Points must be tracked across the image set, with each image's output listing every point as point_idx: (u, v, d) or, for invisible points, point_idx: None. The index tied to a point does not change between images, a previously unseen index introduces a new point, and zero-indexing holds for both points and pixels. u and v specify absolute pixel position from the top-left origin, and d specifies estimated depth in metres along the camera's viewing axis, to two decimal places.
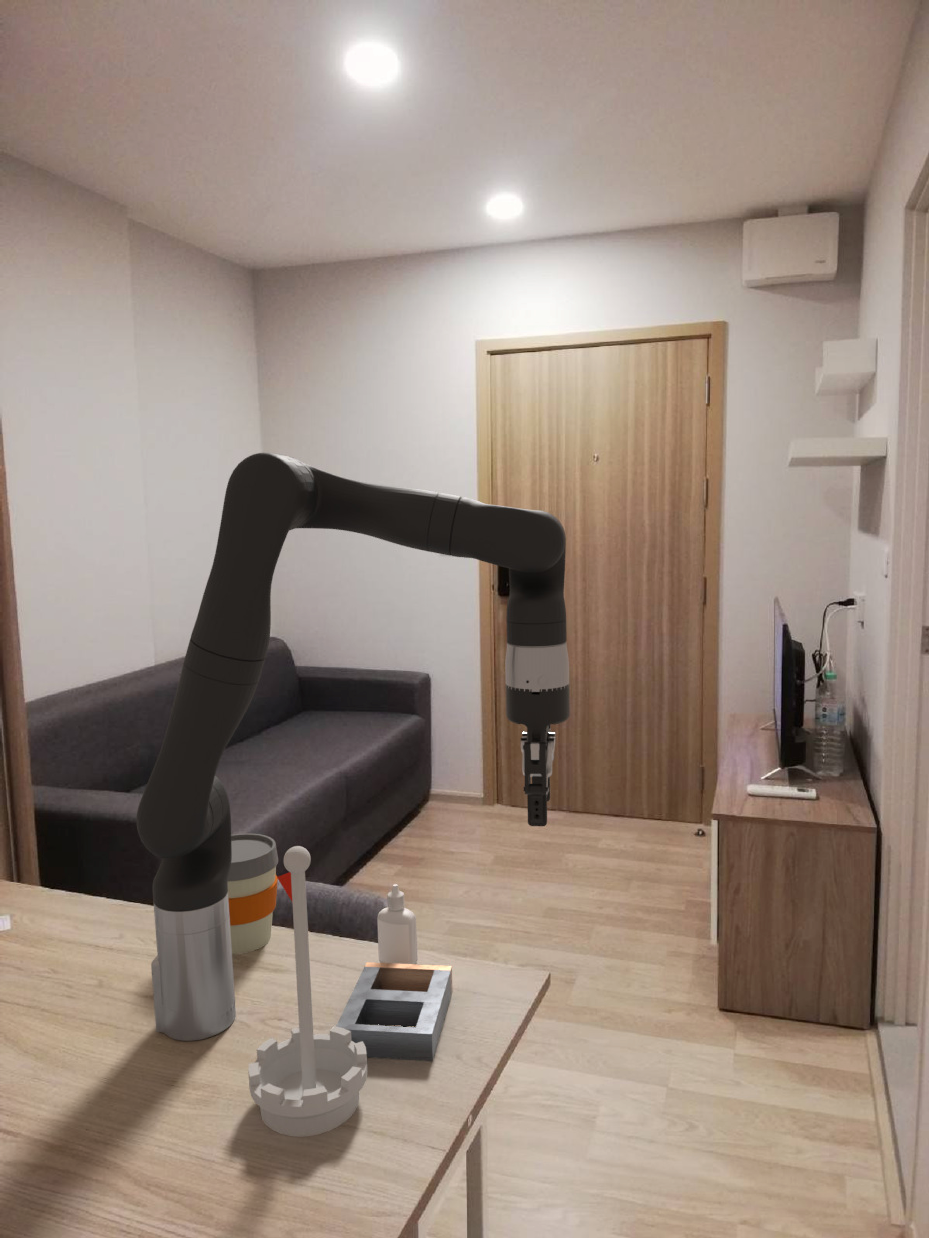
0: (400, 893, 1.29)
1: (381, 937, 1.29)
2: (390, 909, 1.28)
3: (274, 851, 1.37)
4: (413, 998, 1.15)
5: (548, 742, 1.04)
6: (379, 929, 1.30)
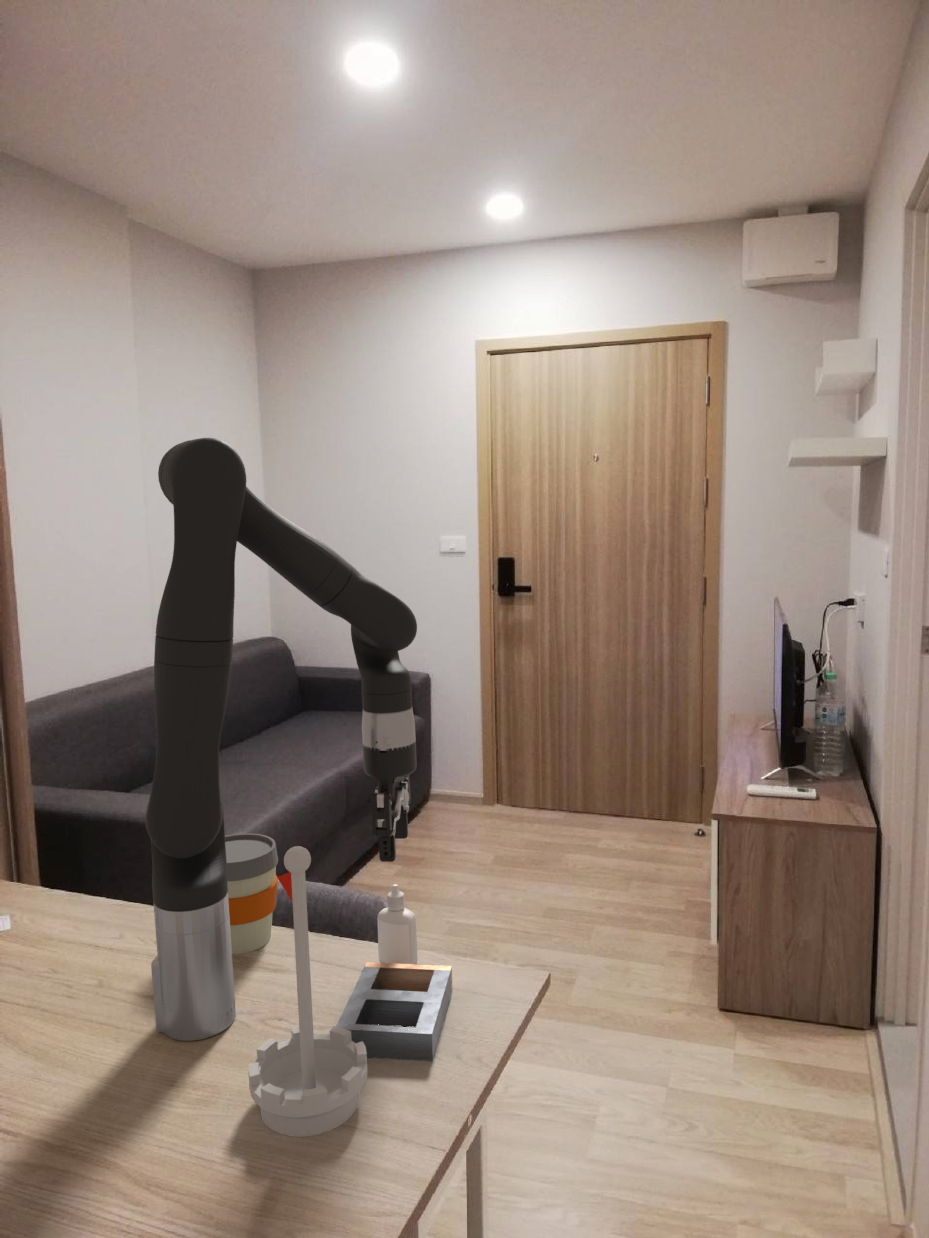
0: (400, 893, 1.29)
1: (381, 937, 1.29)
2: (390, 909, 1.28)
3: (274, 851, 1.37)
4: (413, 998, 1.15)
5: (397, 791, 1.25)
6: (379, 929, 1.30)
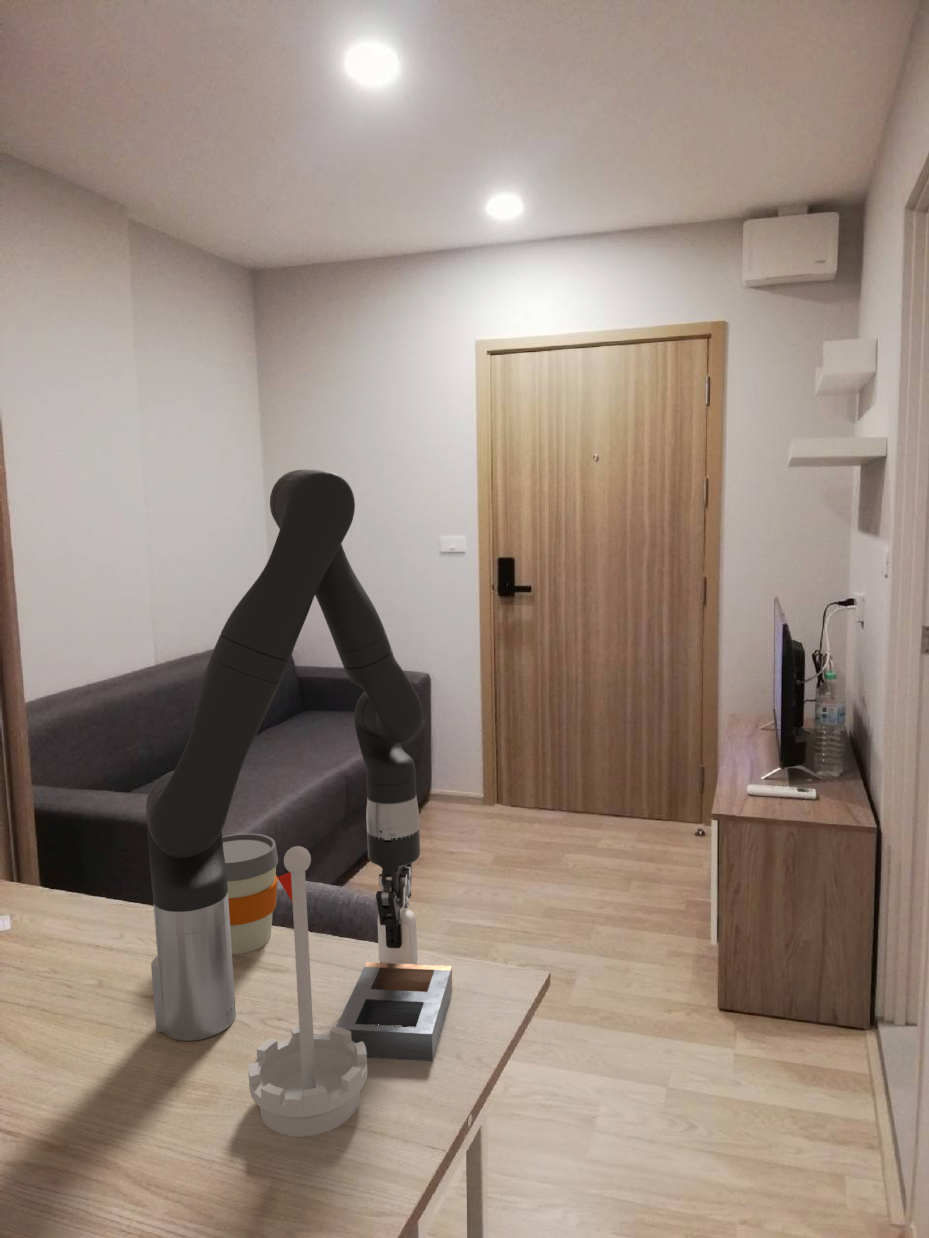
0: None
1: (381, 937, 1.29)
2: None
3: (274, 851, 1.37)
4: (413, 998, 1.15)
5: (400, 880, 1.27)
6: (379, 929, 1.30)
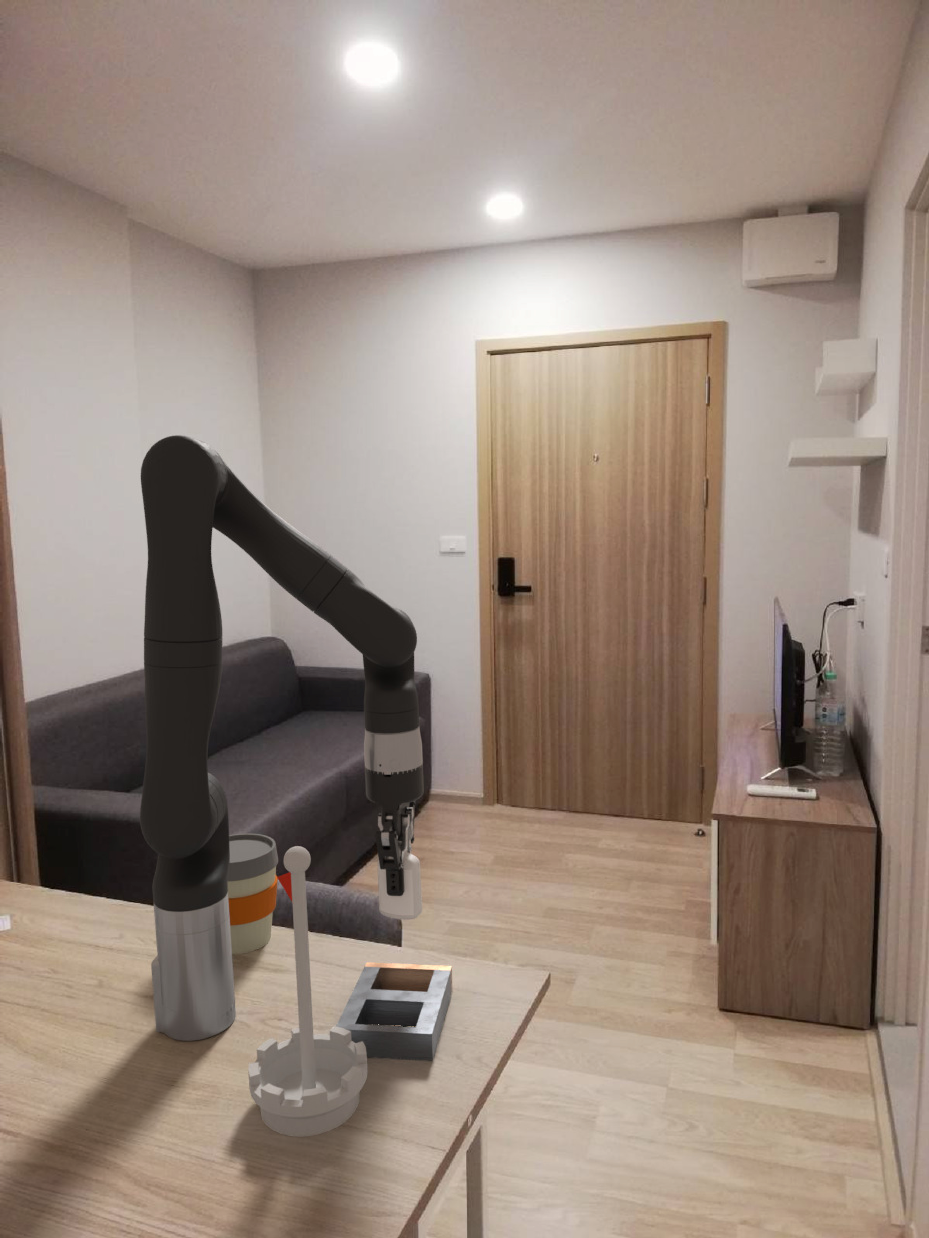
0: None
1: (382, 884, 1.17)
2: None
3: (274, 851, 1.37)
4: (413, 998, 1.15)
5: (402, 820, 1.14)
6: (380, 876, 1.17)
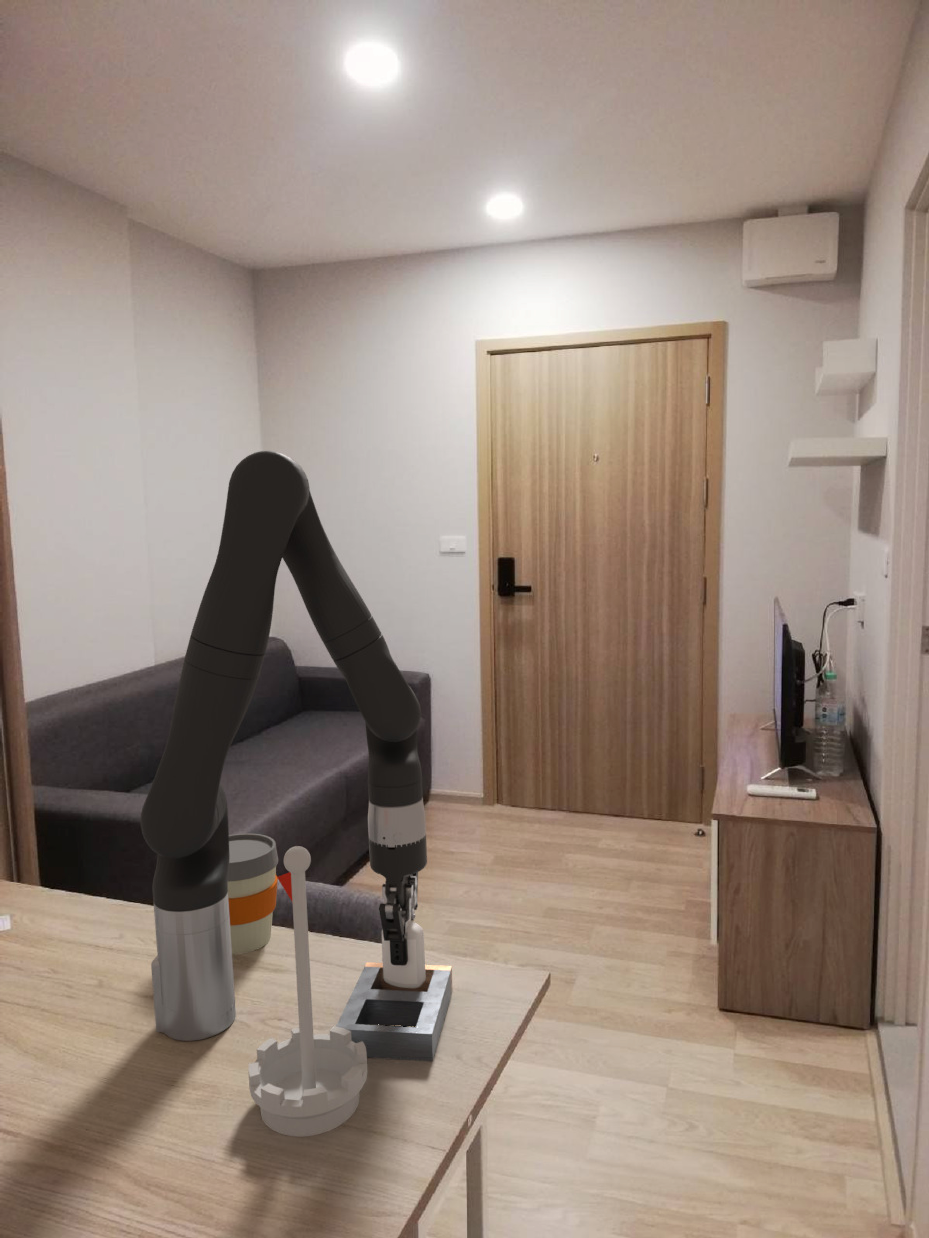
0: None
1: (386, 953, 1.18)
2: None
3: (274, 851, 1.37)
4: (413, 998, 1.15)
5: (406, 891, 1.16)
6: (383, 944, 1.18)
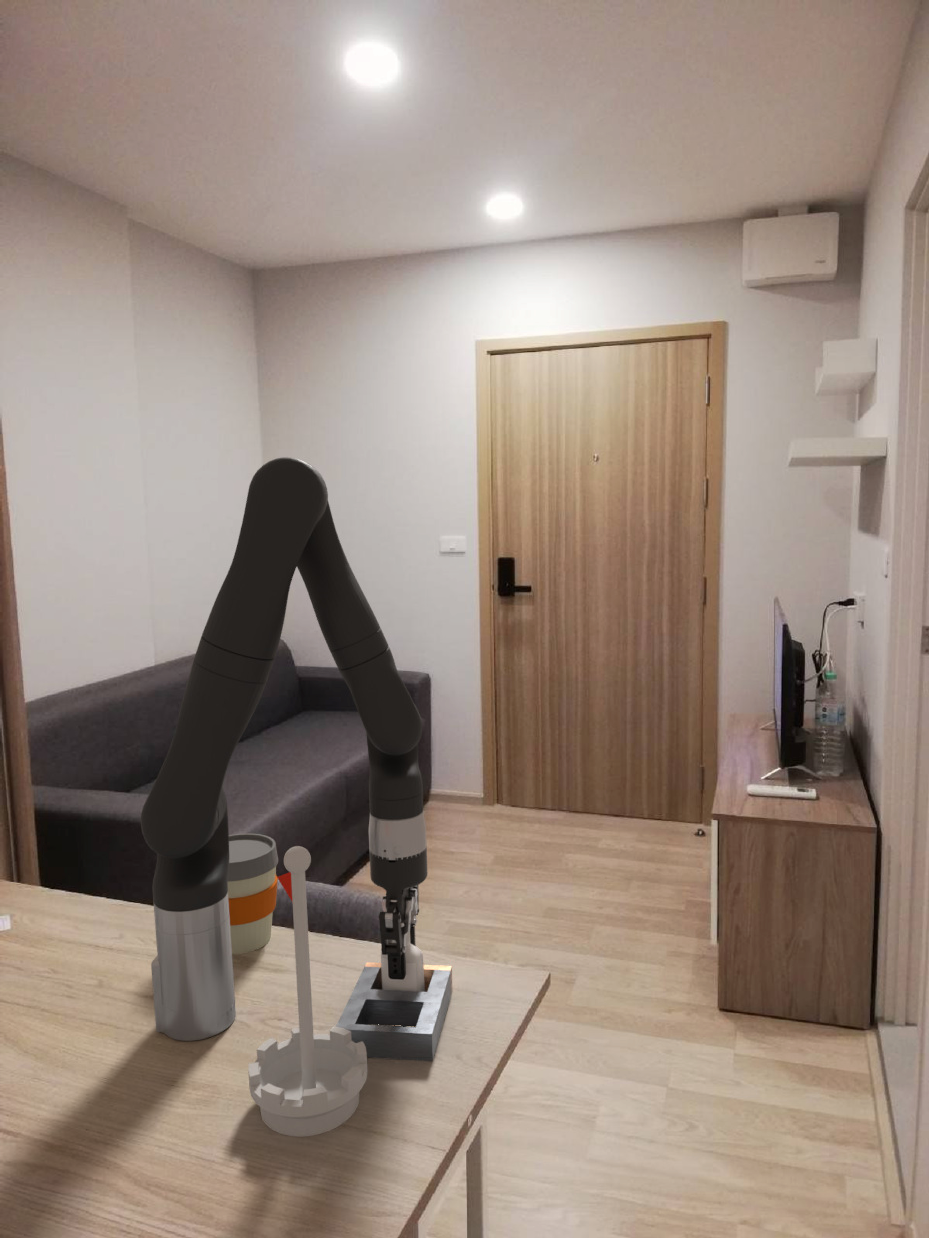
0: None
1: (385, 976, 1.19)
2: None
3: (274, 851, 1.37)
4: (413, 998, 1.15)
5: (406, 902, 1.16)
6: (383, 968, 1.19)
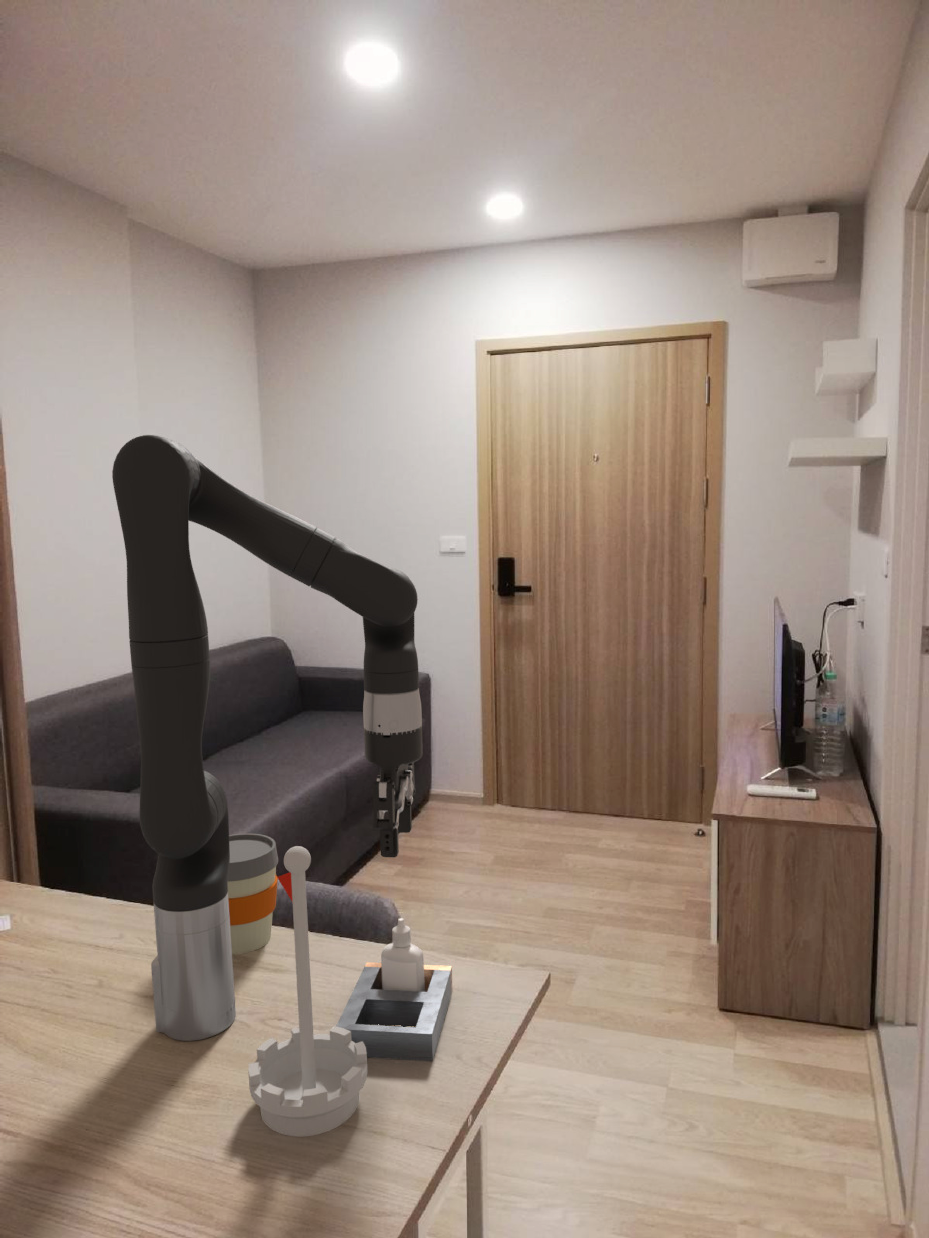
0: (406, 928, 1.18)
1: (385, 976, 1.19)
2: (396, 946, 1.18)
3: (274, 851, 1.37)
4: (413, 998, 1.15)
5: (401, 780, 1.14)
6: (383, 968, 1.19)
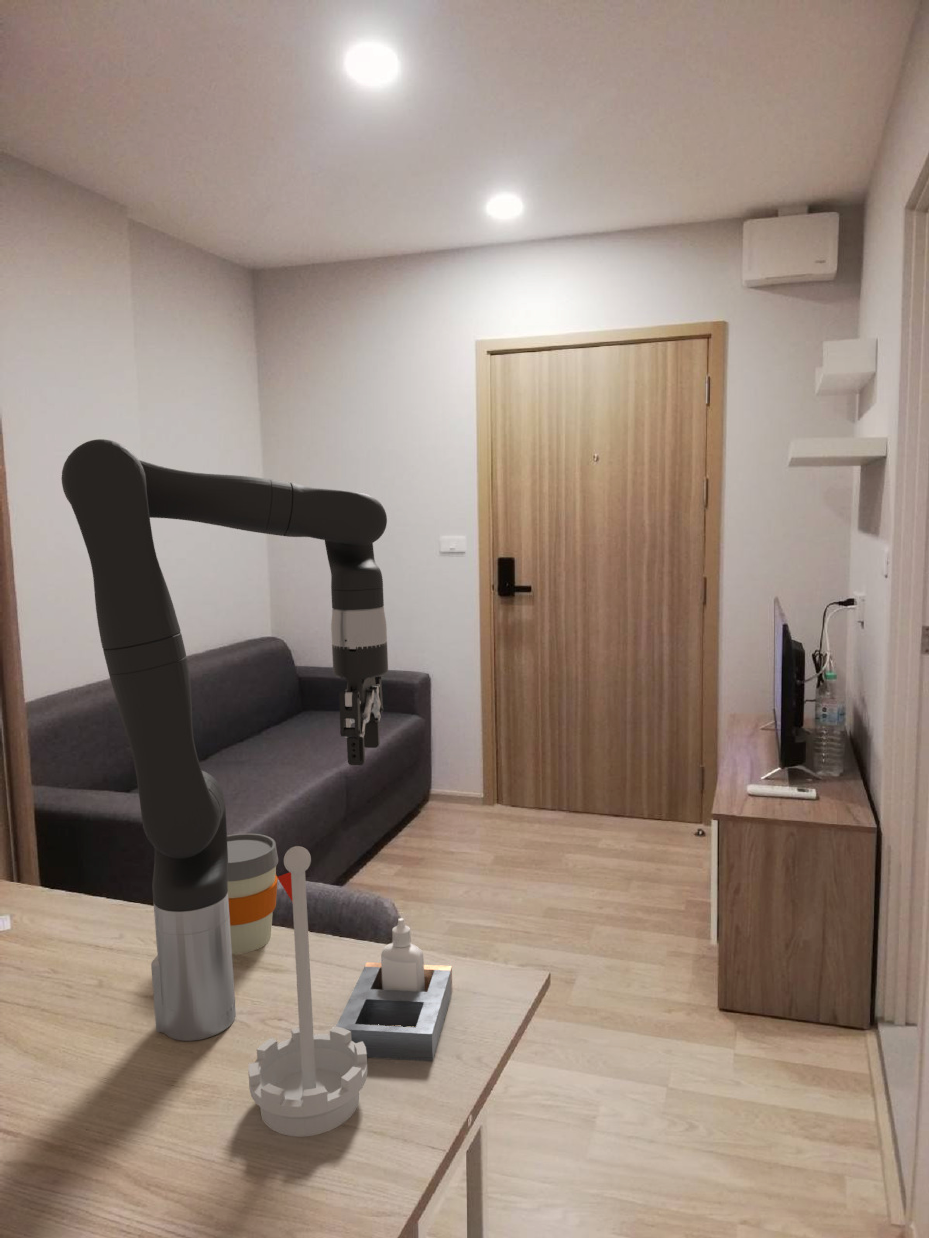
0: (406, 928, 1.18)
1: (385, 976, 1.19)
2: (396, 946, 1.18)
3: (274, 851, 1.37)
4: (413, 998, 1.15)
5: (367, 693, 1.21)
6: (383, 968, 1.19)
